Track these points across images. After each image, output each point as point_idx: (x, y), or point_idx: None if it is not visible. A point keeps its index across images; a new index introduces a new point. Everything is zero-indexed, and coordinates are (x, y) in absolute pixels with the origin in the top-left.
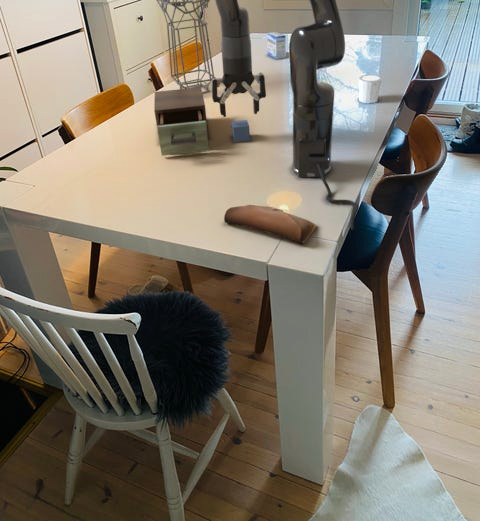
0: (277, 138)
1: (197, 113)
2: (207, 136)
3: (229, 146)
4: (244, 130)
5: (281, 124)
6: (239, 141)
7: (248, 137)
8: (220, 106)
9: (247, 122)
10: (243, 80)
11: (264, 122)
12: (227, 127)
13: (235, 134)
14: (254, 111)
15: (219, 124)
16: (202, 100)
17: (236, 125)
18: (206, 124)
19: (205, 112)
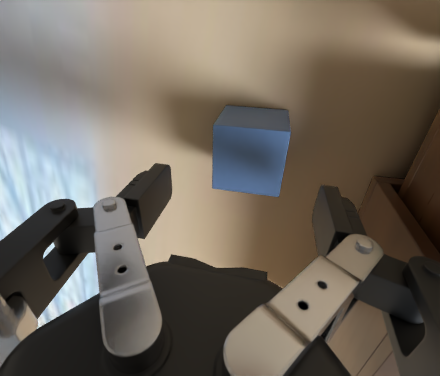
0: (126, 93)
1: None
2: (379, 181)
3: (320, 79)
4: (239, 119)
5: (114, 192)
6: (267, 109)
7: (229, 109)
8: (363, 232)
9: (214, 163)
10: (123, 371)
11: (161, 222)
12: (274, 233)
13: (282, 119)
14: (164, 172)
15: (291, 259)
16: None
17: (269, 150)
18: (397, 211)
19: (424, 253)
